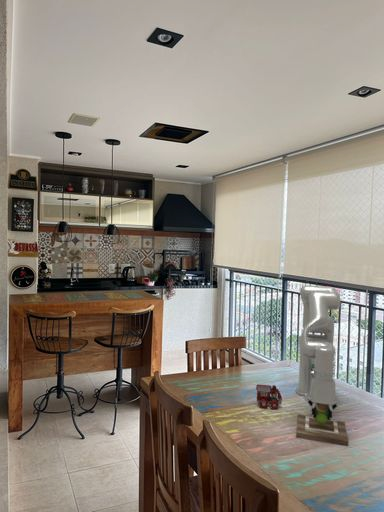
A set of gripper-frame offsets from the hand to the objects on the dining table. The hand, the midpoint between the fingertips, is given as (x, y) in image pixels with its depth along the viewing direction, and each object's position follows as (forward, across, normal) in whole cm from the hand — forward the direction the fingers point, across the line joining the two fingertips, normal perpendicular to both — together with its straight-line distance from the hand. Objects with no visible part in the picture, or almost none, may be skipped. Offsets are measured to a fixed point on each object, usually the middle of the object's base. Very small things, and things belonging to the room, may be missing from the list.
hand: (321, 417), depth 164 cm
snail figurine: (+3, -1, 0) cm, 3 cm away
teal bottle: (+6, 0, +20) cm, 21 cm away
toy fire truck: (+6, -24, +18) cm, 31 cm away
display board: (+6, 0, 0) cm, 6 cm away
